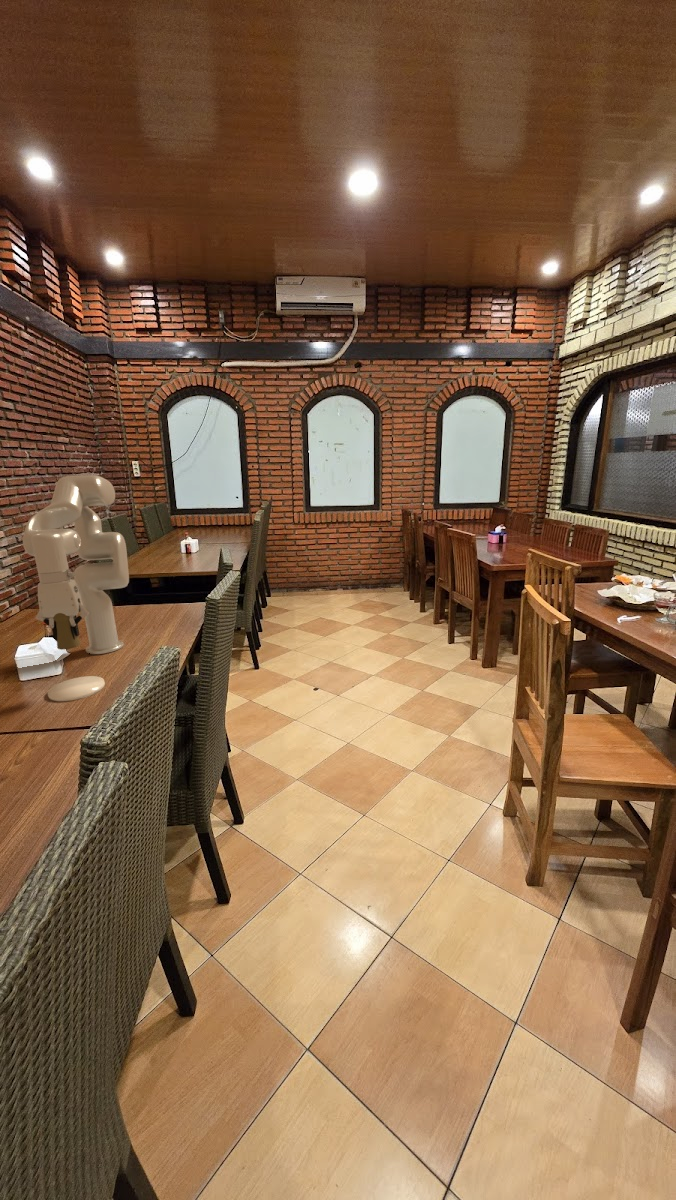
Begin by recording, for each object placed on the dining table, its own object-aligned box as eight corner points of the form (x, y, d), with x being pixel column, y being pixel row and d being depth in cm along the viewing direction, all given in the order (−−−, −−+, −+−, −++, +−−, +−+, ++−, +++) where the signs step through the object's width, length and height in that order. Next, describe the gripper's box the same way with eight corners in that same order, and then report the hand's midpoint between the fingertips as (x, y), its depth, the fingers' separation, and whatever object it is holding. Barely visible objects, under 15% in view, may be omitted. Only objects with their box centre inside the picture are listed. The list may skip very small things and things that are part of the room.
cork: (70, 649, 136) (63, 612, 133) (52, 649, 137) (44, 612, 134) (85, 642, 141) (78, 606, 139) (67, 641, 143) (60, 606, 140)
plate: (59, 682, 149) (59, 679, 148) (110, 676, 151) (110, 673, 151) (39, 704, 134) (38, 700, 134) (96, 697, 137) (95, 694, 136)
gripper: (90, 572, 139) (101, 632, 143) (28, 576, 136) (41, 637, 141) (82, 577, 132) (93, 640, 136) (16, 582, 129) (30, 646, 134)
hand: (67, 638), depth 139 cm, fingers closed on cork, 3 cm apart
